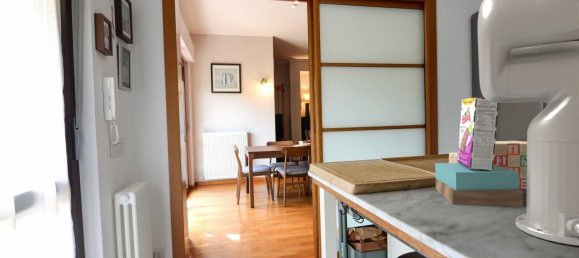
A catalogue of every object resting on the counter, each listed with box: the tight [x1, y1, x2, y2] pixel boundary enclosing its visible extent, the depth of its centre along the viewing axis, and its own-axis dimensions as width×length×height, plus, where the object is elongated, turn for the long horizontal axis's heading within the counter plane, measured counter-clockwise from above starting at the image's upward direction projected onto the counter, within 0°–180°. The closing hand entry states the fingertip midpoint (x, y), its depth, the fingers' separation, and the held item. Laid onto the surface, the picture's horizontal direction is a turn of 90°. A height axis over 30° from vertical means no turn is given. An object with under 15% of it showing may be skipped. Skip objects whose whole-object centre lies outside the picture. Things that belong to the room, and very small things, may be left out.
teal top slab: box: [434, 162, 519, 190], centre depth 75 cm, size 13×13×4 cm
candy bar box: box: [457, 97, 499, 171], centre depth 74 cm, size 11×5×16 cm, turn 166°
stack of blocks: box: [448, 140, 527, 191], centre depth 84 cm, size 21×6×12 cm, turn 84°
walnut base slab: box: [435, 178, 524, 207], centre depth 75 cm, size 14×14×4 cm
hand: (547, 43), depth 74 cm, fingers open, 9 cm apart
